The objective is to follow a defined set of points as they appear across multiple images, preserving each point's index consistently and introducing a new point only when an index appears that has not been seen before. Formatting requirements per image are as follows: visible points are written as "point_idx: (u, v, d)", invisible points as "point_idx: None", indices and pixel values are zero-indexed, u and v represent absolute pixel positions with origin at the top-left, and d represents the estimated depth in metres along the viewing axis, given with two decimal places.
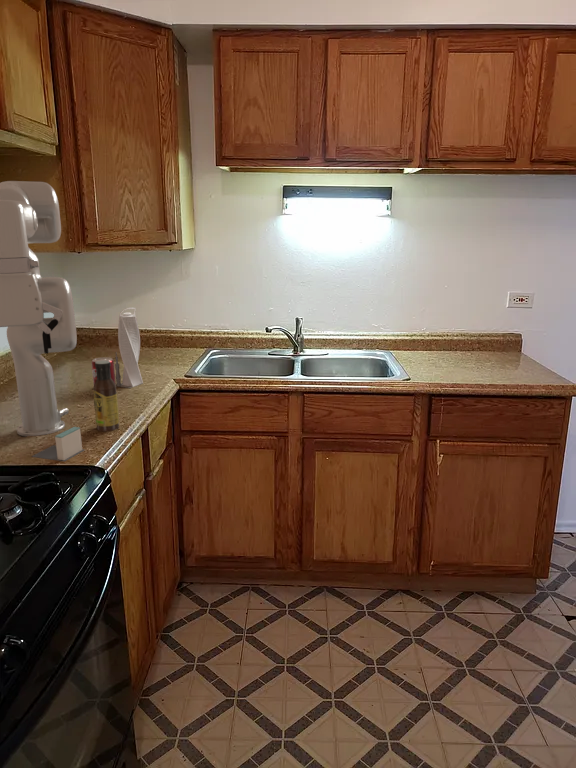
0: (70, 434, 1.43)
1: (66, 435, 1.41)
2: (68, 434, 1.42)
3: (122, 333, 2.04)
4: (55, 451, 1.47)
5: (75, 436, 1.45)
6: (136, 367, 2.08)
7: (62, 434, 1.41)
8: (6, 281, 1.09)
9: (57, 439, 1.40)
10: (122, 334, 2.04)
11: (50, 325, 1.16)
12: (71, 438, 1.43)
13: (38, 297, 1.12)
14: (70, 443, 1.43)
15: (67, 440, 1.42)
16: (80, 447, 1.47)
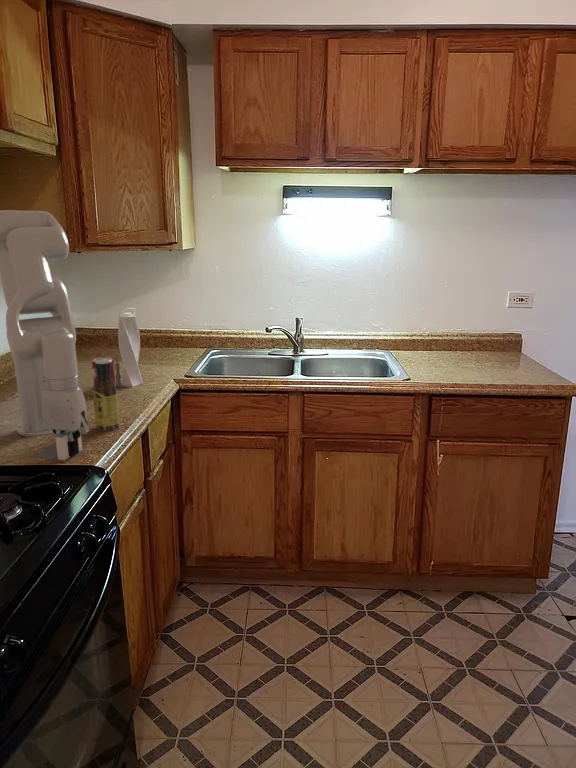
0: None
1: (66, 435, 1.41)
2: None
3: (122, 333, 2.04)
4: (55, 451, 1.47)
5: None
6: (136, 367, 2.08)
7: (62, 434, 1.41)
8: None
9: (57, 439, 1.40)
10: (122, 334, 2.04)
11: None
12: None
13: None
14: None
15: (67, 440, 1.42)
16: (80, 447, 1.47)
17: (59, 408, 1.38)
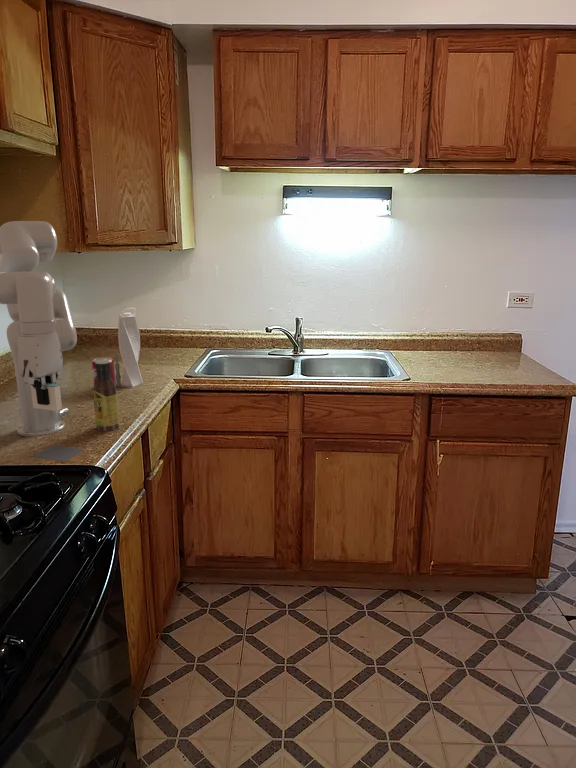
0: None
1: None
2: None
3: (122, 333, 2.04)
4: (55, 451, 1.47)
5: (48, 392, 1.38)
6: (136, 367, 2.08)
7: None
8: (46, 339, 1.35)
9: None
10: (122, 334, 2.04)
11: (55, 380, 1.41)
12: None
13: (60, 348, 1.40)
14: None
15: None
16: (54, 406, 1.39)
17: None
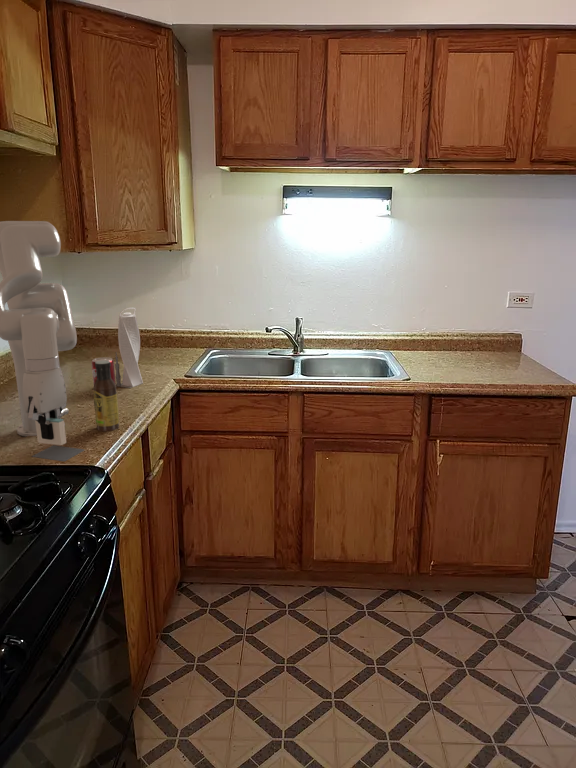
0: None
1: None
2: None
3: (122, 333, 2.04)
4: (55, 451, 1.47)
5: None
6: (136, 367, 2.08)
7: None
8: (50, 375, 1.37)
9: None
10: (122, 334, 2.04)
11: (59, 415, 1.43)
12: None
13: (64, 383, 1.43)
14: None
15: None
16: (59, 441, 1.41)
17: None
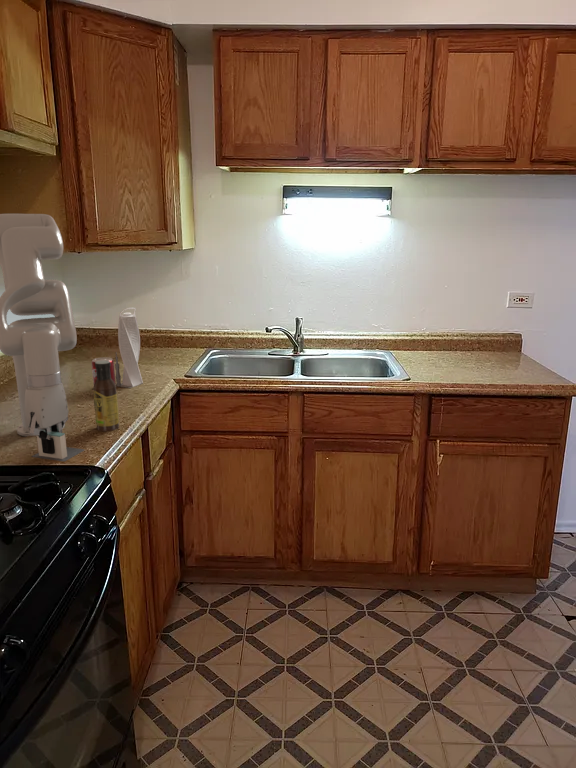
0: None
1: None
2: None
3: (122, 333, 2.04)
4: None
5: None
6: (136, 367, 2.08)
7: None
8: (52, 391, 1.38)
9: None
10: (122, 334, 2.04)
11: (61, 428, 1.45)
12: None
13: None
14: None
15: None
16: (60, 455, 1.42)
17: None
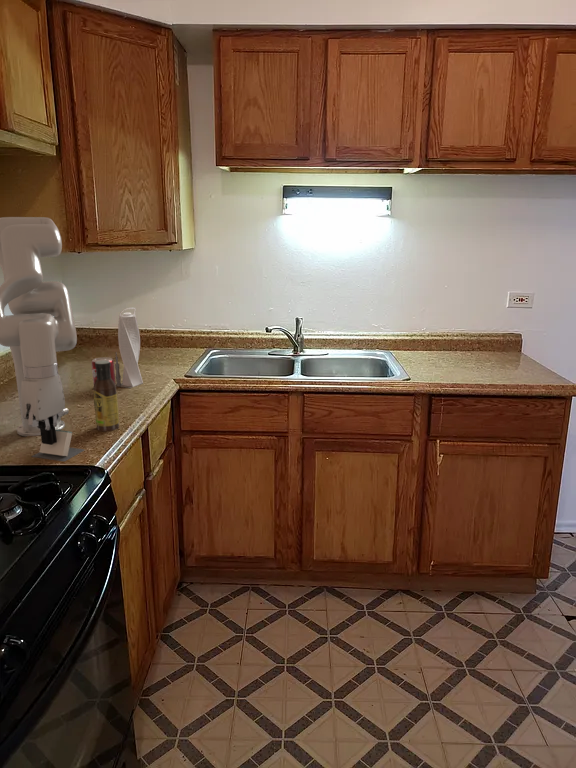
0: None
1: None
2: None
3: (122, 333, 2.04)
4: None
5: (59, 437, 1.43)
6: (136, 367, 2.08)
7: None
8: (48, 383, 1.37)
9: None
10: (122, 334, 2.04)
11: None
12: None
13: None
14: None
15: None
16: (61, 451, 1.42)
17: None
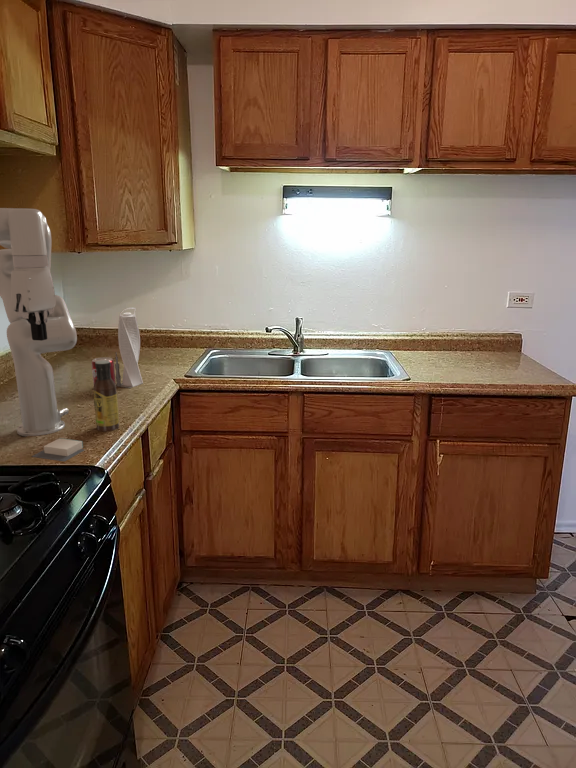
0: (69, 440, 1.49)
1: (65, 439, 1.50)
2: (67, 439, 1.50)
3: (122, 333, 2.04)
4: None
5: (71, 442, 1.48)
6: (136, 367, 2.08)
7: None
8: (38, 274, 1.35)
9: None
10: (122, 334, 2.04)
11: (46, 319, 1.42)
12: (66, 441, 1.48)
13: (53, 286, 1.41)
14: (61, 443, 1.47)
15: (62, 441, 1.49)
16: (67, 447, 1.44)
17: None
